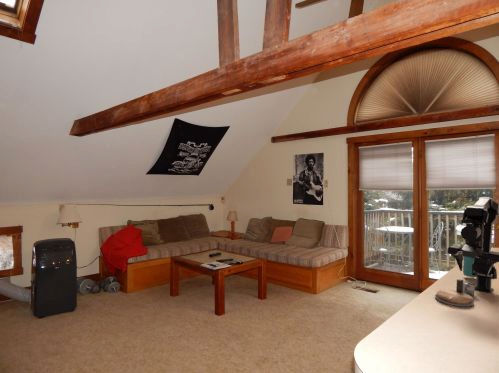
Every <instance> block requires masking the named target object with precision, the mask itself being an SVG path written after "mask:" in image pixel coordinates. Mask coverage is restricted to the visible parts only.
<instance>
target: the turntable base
mask: <svg viewBox="0 0 499 373" xmlns="http://www.w3.org/2000/svg"><path fill="white" fill-rule="evenodd" d="M434 298H435V300H436V301H437V302H438V303H441V304H443V305H446V306H450V307H454V308H462V309H463V308H464V309H465V308H467V309H468V308H473V307H474V306H475V305H474V304H475V301H474V300H473V302H472V303H470V304H456V303H451V302H447V301H444V300H442V299H440V298H438V297H437V293H436V294H435V296H434Z"/></svg>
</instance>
